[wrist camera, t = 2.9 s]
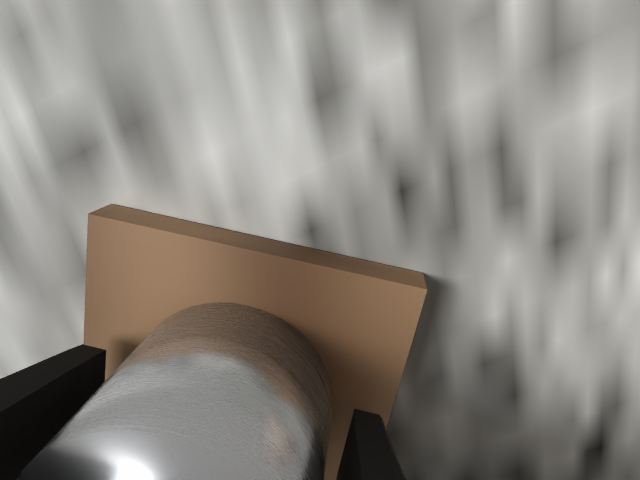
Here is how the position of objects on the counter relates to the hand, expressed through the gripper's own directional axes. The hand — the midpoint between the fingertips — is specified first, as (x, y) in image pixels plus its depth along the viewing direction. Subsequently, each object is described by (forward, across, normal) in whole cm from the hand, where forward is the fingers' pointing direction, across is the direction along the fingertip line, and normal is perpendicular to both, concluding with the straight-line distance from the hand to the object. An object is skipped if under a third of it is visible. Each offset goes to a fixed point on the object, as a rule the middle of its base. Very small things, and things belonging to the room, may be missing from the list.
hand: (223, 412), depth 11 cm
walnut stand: (+2, 0, 0) cm, 2 cm away
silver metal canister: (+1, 0, 0) cm, 1 cm away
